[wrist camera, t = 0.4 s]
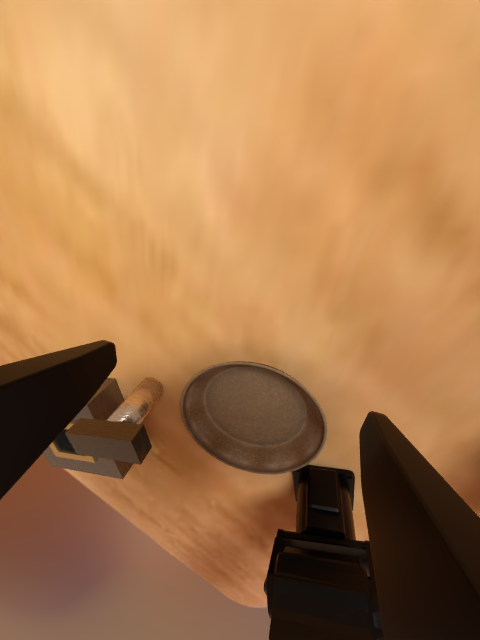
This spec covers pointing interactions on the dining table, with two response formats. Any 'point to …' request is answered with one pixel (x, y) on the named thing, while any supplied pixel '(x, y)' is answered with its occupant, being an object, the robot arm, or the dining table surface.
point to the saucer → (254, 417)
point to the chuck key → (119, 428)
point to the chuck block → (97, 409)
